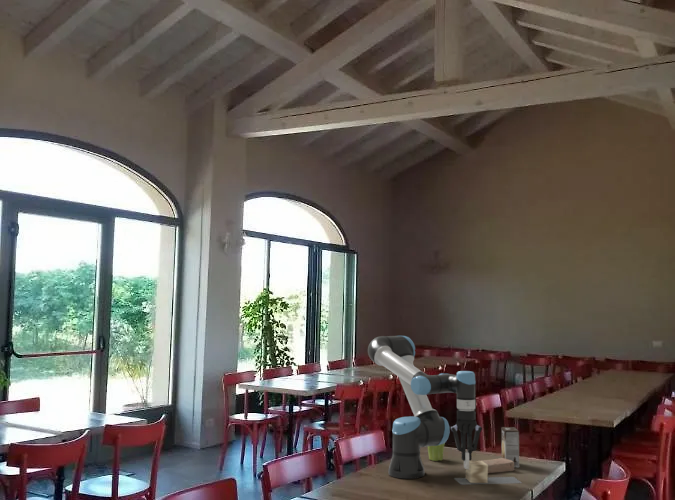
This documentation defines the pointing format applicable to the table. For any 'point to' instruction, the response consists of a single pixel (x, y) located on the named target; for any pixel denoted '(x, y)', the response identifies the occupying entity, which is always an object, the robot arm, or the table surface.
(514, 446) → the coffee box
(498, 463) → the brick
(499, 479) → the rubber mat
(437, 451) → the plant pot
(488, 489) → the table surface
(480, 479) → the beech block
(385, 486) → the table surface
